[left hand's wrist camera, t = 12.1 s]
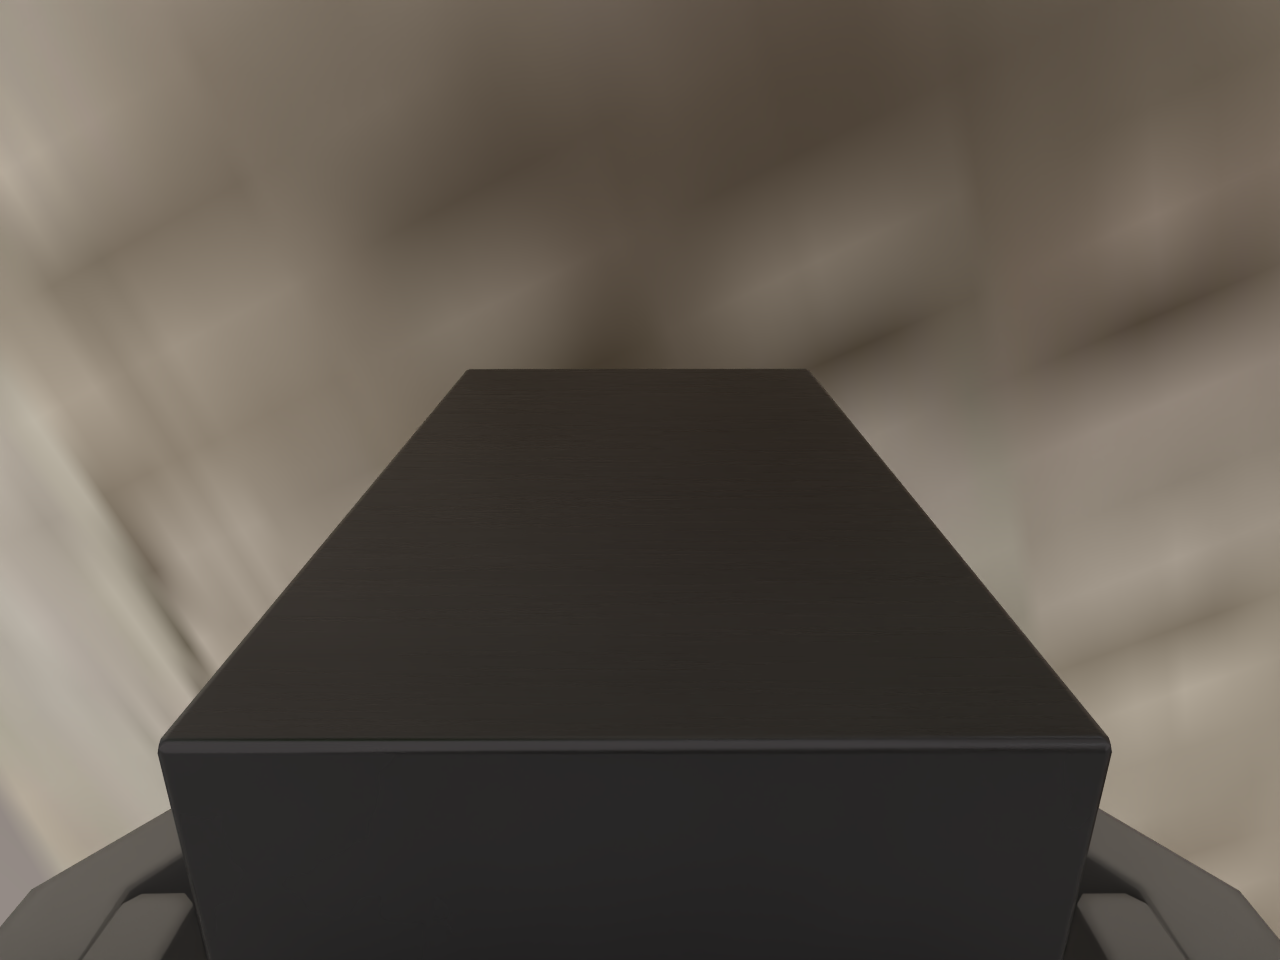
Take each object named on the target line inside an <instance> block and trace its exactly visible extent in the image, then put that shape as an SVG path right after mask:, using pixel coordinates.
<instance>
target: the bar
mask: <svg viewBox="0 0 1280 960" xmlns="http://www.w3.org/2000/svg"><path fill="white" fill-rule="evenodd" d="M1111 753H1112V750H1111V744H1110V740H1109V737H1108V736H1107V735H1106V734H1105V733H1104V731H1103V730H1102V729H1101V728H1100V726H1099V725H1098V724H1097V723H1096V722H1095V720H1094V719H1093V718H1092V717H1091V715H1090V714H1089V713H1088V712H1087V710H1086V709H1085V708H1084V707H1083V706H1082V704H1081V703H1080V702H1079V701H1078V699H1077V698H1076V697H1075V696H1074V695H1073V693H1072V692H1071V691H1070V690H1069V688H1068V687H1067V686H1066V685H1065V684H1064V682H1063V681H1062V680H1061V679H1060V677H1059V676H1058V675H1057V674H1056V672H1055V671H1054V670H1053V669H1052V668H1051V666H1050V665H1049V664H1048V663H1047V661H1046V660H1045V659H1044V658H1043V657H1042V655H1041V654H1040V653H1039V652H1038V650H1037V649H1036V648H1035V647H1034V646H1033V644H1032V643H1031V642H1030V641H1029V639H1028V638H1027V637H1026V636H1025V634H1024V633H1023V632H1022V631H1021V630H1020V628H1019V627H1018V626H1017V625H1016V623H1015V622H1014V621H1013V620H1012V619H1011V617H1010V616H1009V615H1008V614H1007V612H1006V611H1005V610H1004V609H1003V608H1002V606H1001V605H1000V604H999V603H998V601H997V600H996V599H995V598H994V596H993V595H992V594H991V593H990V592H989V590H988V589H987V588H986V587H985V585H984V584H983V583H982V582H981V581H980V579H979V578H978V577H977V576H976V574H975V573H974V572H973V571H972V570H971V568H970V567H969V566H968V565H967V563H966V562H965V561H964V560H963V558H962V557H961V556H960V555H959V554H958V552H957V551H956V550H955V549H954V547H953V546H952V545H951V544H950V543H949V541H948V540H947V539H946V538H945V536H944V535H943V534H942V533H941V532H940V530H939V529H938V528H937V527H936V525H935V524H934V523H933V522H932V520H931V519H930V518H929V517H928V516H927V514H926V513H925V512H924V511H923V509H922V508H921V507H920V506H919V505H918V503H917V502H916V501H915V500H914V498H913V497H912V496H911V495H910V493H909V492H908V491H907V490H906V489H905V487H904V486H903V485H902V484H901V482H900V481H899V480H898V479H897V478H896V476H895V475H894V474H893V473H892V471H891V470H890V469H889V468H888V467H887V465H886V464H885V463H884V462H883V460H882V459H881V458H880V457H879V455H878V454H877V453H876V452H875V451H874V449H873V448H872V447H871V446H870V444H869V443H868V442H867V441H866V440H865V438H864V437H863V436H862V435H861V433H860V432H859V431H858V430H857V429H856V427H855V426H854V425H853V424H852V422H851V421H850V420H849V419H848V417H847V416H846V415H845V414H844V413H843V411H842V410H841V409H840V408H839V406H838V405H837V404H836V403H835V402H834V400H833V399H832V398H831V397H830V395H829V394H828V393H827V392H826V391H825V389H824V388H823V387H822V386H821V384H820V383H819V382H818V381H817V379H816V378H815V377H814V376H813V375H812V373H811V372H810V371H809V370H807V369H469V370H467V371H466V372H465V373H464V374H463V375H462V377H461V378H460V379H459V380H458V381H457V383H456V384H455V385H454V386H453V387H452V389H451V390H450V391H449V392H448V394H447V395H446V396H445V397H444V398H443V400H442V401H441V402H440V403H439V404H438V406H437V407H436V408H435V409H434V410H433V412H432V413H431V414H430V415H429V416H428V418H427V419H426V420H425V421H424V422H423V424H422V425H421V426H420V427H419V428H418V430H417V431H416V432H415V433H414V434H413V436H412V437H411V438H410V439H409V440H408V442H407V443H406V444H405V445H404V446H403V448H402V449H401V450H400V451H399V453H398V454H397V455H396V456H395V457H394V459H393V460H392V461H391V462H390V463H389V465H388V466H387V467H386V468H385V469H384V471H383V472H382V473H381V474H380V475H379V477H378V478H377V479H376V480H375V481H374V483H373V484H372V485H371V486H370V487H369V489H368V490H367V491H366V492H365V493H364V495H363V496H362V497H361V498H360V499H359V501H358V502H357V503H356V504H355V506H354V507H353V508H352V509H351V510H350V512H349V513H348V514H347V515H346V516H345V518H344V519H343V520H342V521H341V522H340V524H339V525H338V526H337V527H336V528H335V530H334V531H333V532H332V533H331V534H330V536H329V537H328V538H327V539H326V540H325V542H324V543H323V544H322V545H321V546H320V548H319V549H318V550H317V551H316V552H315V554H314V555H313V556H312V557H311V558H310V560H309V561H308V562H307V563H306V565H305V566H304V567H303V568H302V569H301V571H300V572H299V573H298V574H297V575H296V577H295V578H294V579H293V580H292V581H291V583H290V584H289V585H288V586H287V587H286V589H285V590H284V591H283V592H282V593H281V595H280V596H279V597H278V598H277V599H276V601H275V602H274V603H273V604H272V605H271V607H270V608H269V609H268V610H267V611H266V613H265V614H264V615H263V616H262V618H261V619H260V620H259V621H258V622H257V624H256V625H255V626H254V627H253V628H252V630H251V631H250V632H249V633H248V634H247V636H246V637H245V638H244V639H243V640H242V642H241V643H240V644H239V645H238V646H237V648H236V649H235V650H234V651H233V652H232V654H231V655H230V656H229V657H228V658H227V660H226V661H225V662H224V663H223V664H222V666H221V667H220V668H219V669H218V671H217V672H216V673H215V674H214V675H213V677H212V678H211V679H210V680H209V681H208V683H207V684H206V685H205V686H204V687H203V689H202V690H201V691H200V692H199V693H198V695H197V696H196V697H195V698H194V699H193V701H192V702H191V703H190V704H189V705H188V707H187V708H186V709H185V710H184V711H183V713H182V714H181V715H180V716H179V717H178V719H177V720H176V721H175V722H174V723H173V725H172V726H171V727H170V728H169V730H168V731H167V732H166V733H165V734H164V736H163V737H162V738H161V740H160V743H159V748H158V756H159V760H160V765H161V769H162V773H163V777H164V781H165V785H166V789H167V793H168V797H169V801H170V805H171V810H172V814H173V818H174V822H175V826H176V830H177V834H178V838H179V842H180V846H181V850H182V854H183V859H184V863H185V867H186V871H187V875H188V879H189V883H190V887H191V891H192V895H193V899H194V904H195V908H196V912H197V916H198V920H199V924H200V928H201V932H202V936H203V940H204V944H205V948H206V953H207V957H208V960H1063V956H1064V951H1065V947H1066V943H1067V939H1068V935H1069V930H1070V926H1071V922H1072V918H1073V914H1074V909H1075V905H1076V901H1077V897H1078V892H1079V888H1080V884H1081V880H1082V876H1083V871H1084V867H1085V863H1086V859H1087V855H1088V850H1089V846H1090V842H1091V838H1092V833H1093V829H1094V825H1095V821H1096V817H1097V812H1098V808H1099V804H1100V800H1101V796H1102V791H1103V787H1104V783H1105V779H1106V774H1107V770H1108V766H1109V762H1110V758H1111Z"/></svg>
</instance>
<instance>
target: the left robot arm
mask: <svg viewBox="0 0 1280 960" xmlns="http://www.w3.org/2000/svg"><path fill="white" fill-rule="evenodd" d="M0 960H208V957H207V953H206V948H205V944H204V940H203V936H202V932H201V928H200V924H199V920H198V916H197V912H196V908H195V904H194V899H193V895H192V891H191V887H190V883H189V879H188V875H187V871H186V867H185V863H184V859H183V854H182V850H181V846H180V842H179V838H178V834H177V830H176V826H175V822H174V818H173V814H172V810H171V809H170V810H168V811H166V812H165V813H163V814H161V815H159V816H158V817H156V818H154V819H152V820H151V821H149V822H147V823H146V824H144V825H142V826H140V827H139V828H137V829H135V830H133V831H132V832H130V833H128V834H127V835H125V836H123V837H121V838H120V839H118V840H116V841H115V842H113V843H111V844H109V845H108V846H106V847H104V848H102V849H101V850H99V851H97V852H96V853H94V854H92V855H90V856H89V857H87V858H85V859H83V860H82V861H80V862H78V863H77V864H75V865H73V866H71V867H70V868H68V869H66V870H64V871H63V872H61V873H59V874H58V875H56V876H54V877H52V878H51V879H49V880H47V881H46V882H44V883H42V884H40V885H39V886H37V887H35V888H33V889H32V890H31V891H30V892H29V893H28V894H27V896H26V897H25V898H24V899H23V900H22V902H21V903H20V904H19V905H18V906H17V908H16V909H15V910H14V911H13V912H12V913H11V915H10V916H9V917H8V918H7V919H6V921H5V922H4V923H3V924H2V925H1V927H0ZM1063 960H1280V940H1279V938H1278V937H1277V936H1276V935H1275V934H1274V932H1273V931H1272V930H1271V929H1270V928H1269V926H1268V925H1267V924H1266V923H1265V921H1264V920H1263V919H1262V918H1261V917H1260V915H1259V914H1258V913H1257V912H1256V910H1255V909H1254V908H1253V907H1252V906H1251V904H1250V903H1249V902H1248V901H1247V899H1246V898H1245V897H1244V896H1243V895H1242V893H1241V892H1240V891H1239V890H1237V889H1235V888H1234V887H1232V886H1230V885H1228V884H1227V883H1225V882H1223V881H1222V880H1220V879H1218V878H1217V877H1215V876H1213V875H1211V874H1210V873H1208V872H1206V871H1205V870H1203V869H1201V868H1200V867H1198V866H1196V865H1194V864H1193V863H1191V862H1189V861H1188V860H1186V859H1184V858H1183V857H1181V856H1179V855H1177V854H1176V853H1174V852H1172V851H1171V850H1169V849H1167V848H1165V847H1164V846H1162V845H1160V844H1159V843H1157V842H1155V841H1154V840H1152V839H1150V838H1148V837H1147V836H1145V835H1143V834H1142V833H1140V832H1138V831H1137V830H1135V829H1133V828H1131V827H1130V826H1128V825H1126V824H1125V823H1123V822H1121V821H1120V820H1118V819H1116V818H1114V817H1113V816H1111V815H1109V814H1108V813H1106V812H1104V811H1103V810H1101V809H1099V808H1098V812H1097V817H1096V821H1095V825H1094V829H1093V833H1092V838H1091V842H1090V846H1089V850H1088V855H1087V859H1086V863H1085V867H1084V871H1083V876H1082V880H1081V884H1080V888H1079V892H1078V897H1077V901H1076V905H1075V909H1074V914H1073V918H1072V922H1071V926H1070V930H1069V935H1068V939H1067V943H1066V947H1065V951H1064V956H1063Z"/></svg>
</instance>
